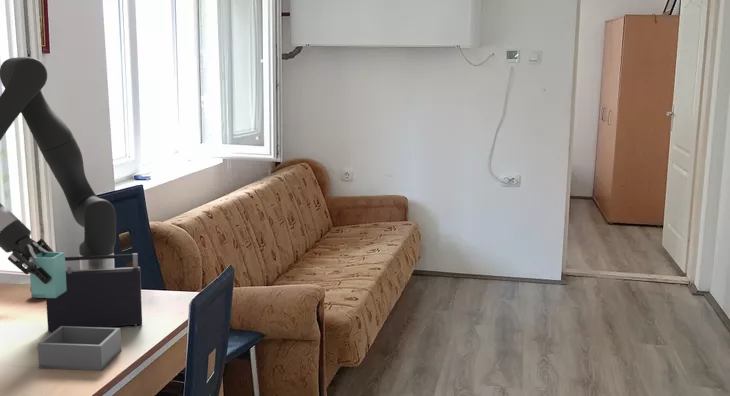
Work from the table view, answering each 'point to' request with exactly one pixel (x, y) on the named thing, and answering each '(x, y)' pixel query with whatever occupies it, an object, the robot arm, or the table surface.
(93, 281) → the radio
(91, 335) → the big crate
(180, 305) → the table surface
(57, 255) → the box
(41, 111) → the robot arm
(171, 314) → the table surface
